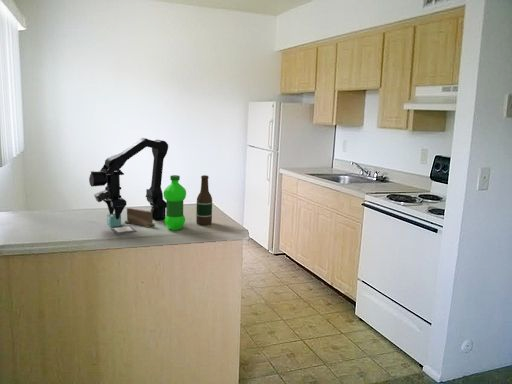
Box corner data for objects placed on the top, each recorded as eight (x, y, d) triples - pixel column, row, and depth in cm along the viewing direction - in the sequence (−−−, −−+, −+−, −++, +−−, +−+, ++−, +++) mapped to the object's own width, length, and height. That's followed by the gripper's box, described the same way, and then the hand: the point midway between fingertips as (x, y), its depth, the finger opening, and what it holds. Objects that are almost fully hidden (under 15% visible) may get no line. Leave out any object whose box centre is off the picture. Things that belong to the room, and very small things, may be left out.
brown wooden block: (131, 220, 219) (131, 207, 218) (154, 225, 213) (154, 211, 212) (124, 223, 215) (124, 209, 213) (147, 227, 209) (147, 213, 207)
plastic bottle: (161, 226, 212) (161, 174, 207) (183, 224, 216) (183, 173, 211) (166, 232, 203) (165, 178, 198) (188, 230, 207) (189, 177, 202)
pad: (129, 226, 209) (129, 225, 209) (136, 231, 202) (136, 230, 202) (110, 229, 204) (110, 228, 204) (116, 234, 197) (116, 233, 197)
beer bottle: (214, 223, 221) (215, 175, 216) (206, 226, 214) (207, 177, 209) (201, 220, 224) (202, 173, 219) (193, 224, 217) (193, 175, 212)
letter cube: (117, 223, 214) (117, 213, 213) (121, 225, 210) (120, 215, 209) (107, 224, 212) (106, 214, 211) (110, 227, 208) (110, 216, 206)
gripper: (90, 182, 210) (91, 214, 213) (101, 189, 195) (102, 223, 198) (113, 181, 216) (114, 212, 220) (126, 187, 201) (127, 220, 204)
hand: (114, 217), depth 210 cm, fingers open, 9 cm apart
